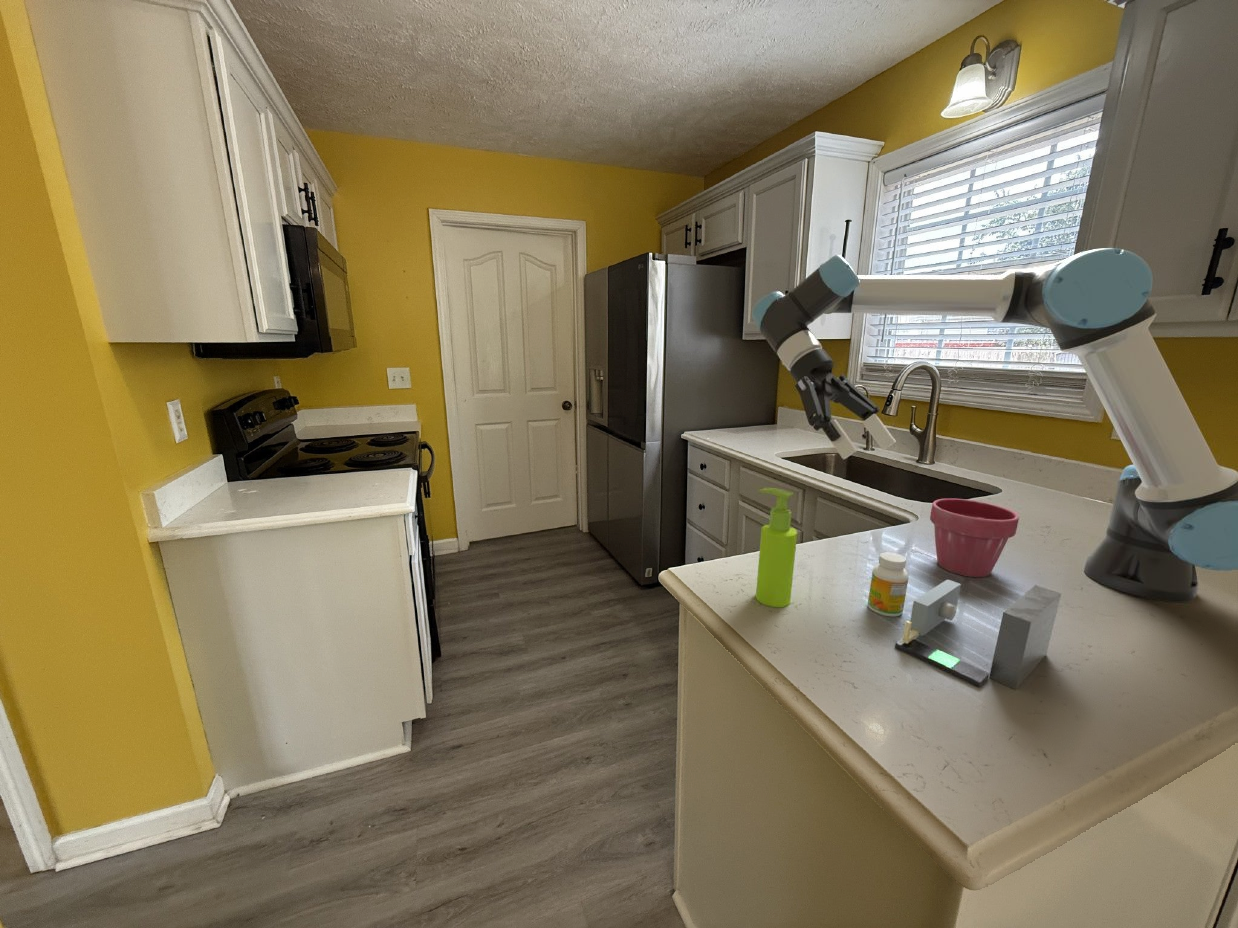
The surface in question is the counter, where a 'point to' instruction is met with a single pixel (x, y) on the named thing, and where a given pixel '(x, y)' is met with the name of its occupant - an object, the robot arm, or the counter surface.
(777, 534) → the soap dispenser
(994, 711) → the counter surface
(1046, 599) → the frame
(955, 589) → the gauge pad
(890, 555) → the supplement bottle
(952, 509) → the plant pot
